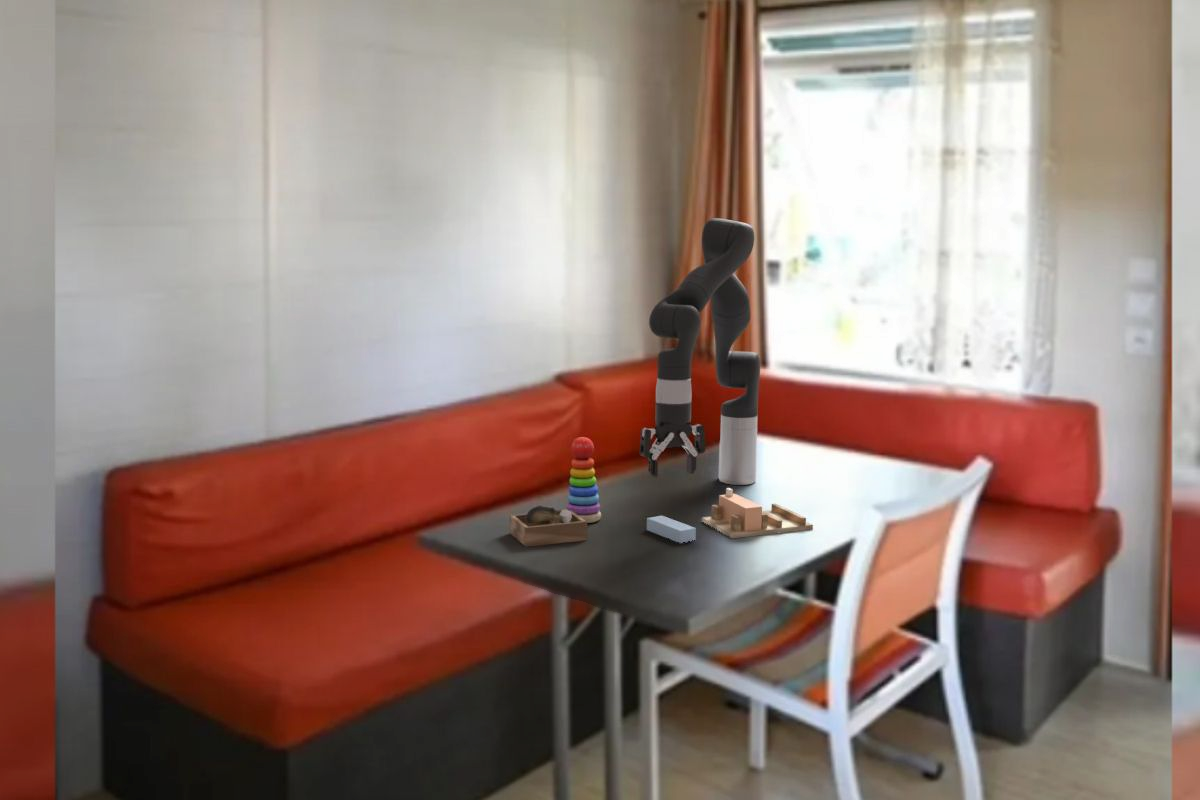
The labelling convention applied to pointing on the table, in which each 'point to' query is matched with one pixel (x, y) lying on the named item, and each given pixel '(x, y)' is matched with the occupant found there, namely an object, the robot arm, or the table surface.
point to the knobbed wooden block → (740, 510)
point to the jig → (771, 522)
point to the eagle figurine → (548, 516)
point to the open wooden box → (547, 530)
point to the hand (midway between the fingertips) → (672, 474)
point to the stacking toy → (583, 482)
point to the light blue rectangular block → (671, 529)
